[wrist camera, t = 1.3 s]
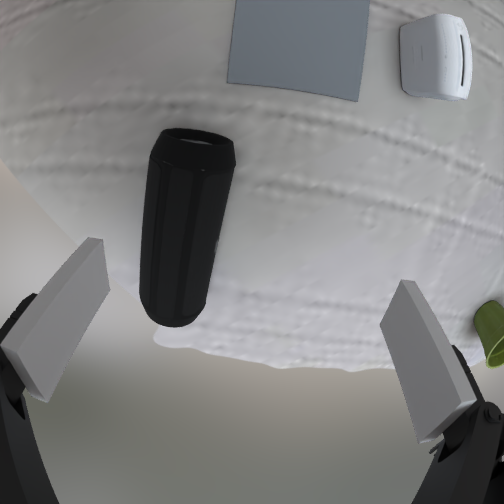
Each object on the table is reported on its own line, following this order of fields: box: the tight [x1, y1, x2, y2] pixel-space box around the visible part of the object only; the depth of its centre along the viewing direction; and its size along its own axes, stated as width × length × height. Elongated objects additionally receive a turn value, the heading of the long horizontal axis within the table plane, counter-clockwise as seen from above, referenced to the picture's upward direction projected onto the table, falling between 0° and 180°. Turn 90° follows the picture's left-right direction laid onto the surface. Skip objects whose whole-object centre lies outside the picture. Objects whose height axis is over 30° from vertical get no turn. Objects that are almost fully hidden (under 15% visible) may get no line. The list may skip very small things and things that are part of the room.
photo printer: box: [400, 14, 472, 101], centre depth 24 cm, size 10×4×12 cm, turn 3°
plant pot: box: [474, 301, 504, 369], centre depth 45 cm, size 12×12×11 cm
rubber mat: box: [227, 0, 370, 102], centre depth 29 cm, size 16×16×1 cm
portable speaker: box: [139, 128, 236, 327], centre depth 38 cm, size 26×10×10 cm, turn 166°
